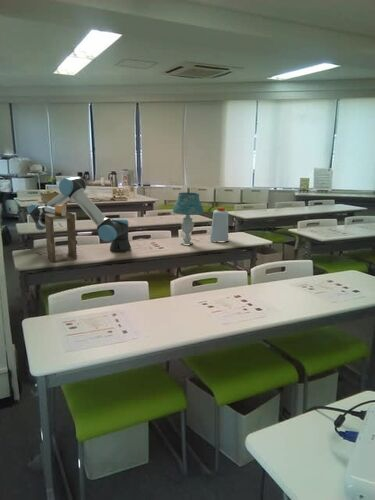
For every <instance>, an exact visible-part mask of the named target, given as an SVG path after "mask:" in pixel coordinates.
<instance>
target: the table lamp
mask: <svg viewBox="0 0 375 500" xmlns="http://www.w3.org/2000/svg"><path fill="white" fill-rule="evenodd" d="M177 195H178V196H177V199H176V202H175V204H174V206H173V208H172V212H173V213H174V214H178V215H185V217H183V218H182V220H183V221H180V226H181V230H182V232H183V233H184V236H183V237H182V241H181V242H180V244H181V243H182V244H192V243H193V241H192V237H191V236H190V233H192V232H193V230H194V226H195V222H194V221H193V218H192V217H191V216H196V215H203V214H204V207H203V205H202V202H201V200H200V193H196V192H179V193H178V194H177ZM182 244H181V245H182ZM192 245H193V244H192Z"/></svg>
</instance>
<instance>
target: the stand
mask: <svg viewBox="0 0 375 500" xmlns="http://www.w3.org/2000/svg"><path fill="white" fill-rule="evenodd" d="M65 219H66V231H67V233H66V234H67V250H68V251H67V252H68V253H62V254H61V253H60V254H56V242H55V229H54V226H55V225H54V221H55V220H65ZM45 226H46V229H45V238H46V248H47V249H46V252H47V253H46V254H47V259H48V260H49V261H50V262H51V263H58V262H59V263H60V262H64V261H65V262H66V261H70V260H77V259H78V256H77V255H78V254H77V235H76V234H77V233H76V215H75V214H74V213H72V212H69V211H68V212H67V215H64V216H57V215H55V214H54V213H52V214H45Z"/></svg>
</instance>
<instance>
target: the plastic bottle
mask: <svg viewBox="0 0 375 500" xmlns="http://www.w3.org/2000/svg"><path fill="white" fill-rule="evenodd" d="M210 240H211V241H228V242H229V211H228V210H226V208H225V207H223V206H218V207H217V208H216V209H215V210H213V214H212V222H211V228H210V235H209V241H210ZM211 241H210V242H211Z"/></svg>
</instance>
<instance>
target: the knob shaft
mask: <svg viewBox="0 0 375 500" xmlns="http://www.w3.org/2000/svg"><path fill="white" fill-rule="evenodd" d="M44 208H45V211H47V212H51V213H54V214H55V215H57V216H64V215H67V205H66V204H63V205H55V208H54V207H51V206H44Z"/></svg>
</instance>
